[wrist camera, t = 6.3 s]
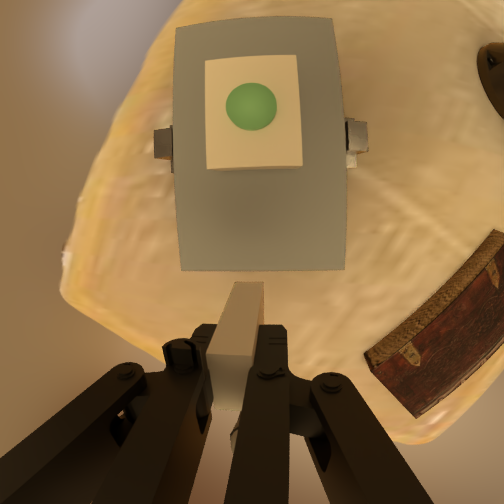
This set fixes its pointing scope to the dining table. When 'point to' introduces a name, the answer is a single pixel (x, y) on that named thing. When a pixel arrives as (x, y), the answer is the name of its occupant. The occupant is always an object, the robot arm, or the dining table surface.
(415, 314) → the hardback book
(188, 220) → the instrument plate
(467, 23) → the dining table surface
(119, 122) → the dining table surface
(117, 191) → the dining table surface
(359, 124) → the pivot stand
